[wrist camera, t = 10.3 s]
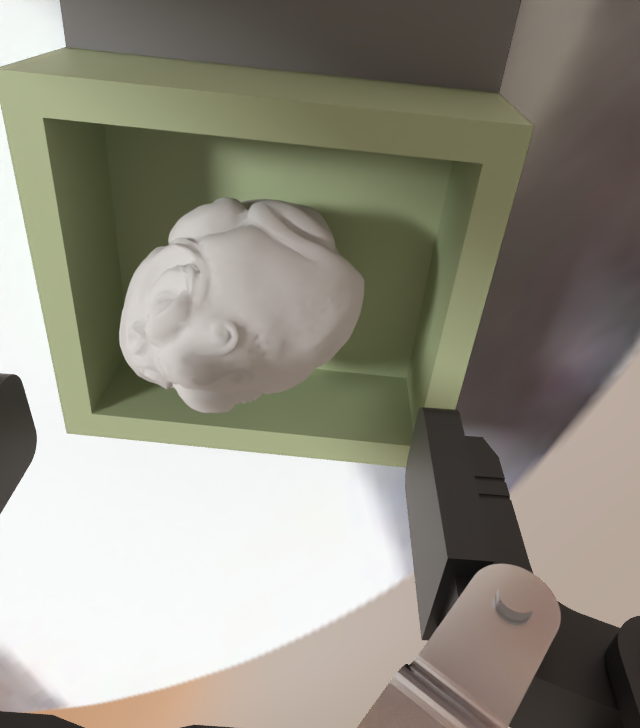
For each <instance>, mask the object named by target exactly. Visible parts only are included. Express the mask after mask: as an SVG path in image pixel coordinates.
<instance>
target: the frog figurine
mask: <svg viewBox="0 0 640 728" xmlns="http://www.w3.org/2000/svg"><path fill="white" fill-rule="evenodd" d="M168 242H169V245H168V246H163V247H156V248H155V249H154V250H153V251H152V252H151V253H150V254H149V255H148V256H147V258H145V259H144V260H143V261H142V263H141V264H140V265H139V267H138V268H137V269H136V271H135V272H134V275H133V277H132V279H131V282H130V284H129V288H128V291H127V294H126V298H125V303H124V307H123V311H122V316H121V323H120V330H119V342H120V347H121V350H122V353H123V356H124V358H125V360H126V362H127V363H128V364H129V366H130V367H131V368H132V369H133V370H134V372H135V373H136V374H137V375H138V376H140V377H141V378H143V379H145V380H147V381H149V382H152V383H155V384H158V385H160V386H161V387H163V388H165V389H166V390H168V389H169V388H175V389H176V391H177V393H178V394H179V396H180V398H181V399H182V400H183V401H184V402H185V403H186V404H187V405H188V406H189V407H190V408H191V409H193V410H195V411H198V412H202V413H225V412H229V411H230V410H231V409H232V408H233V407H234V406H235V404H236V403H238V404H239V403H241V402H242V403H243V404H245V403H246V402H252V400H253V399H255V400H256V399H257V398H259V397H260V396H261V395H262V394H271V393H279V392H282V391H286V390H288V389H290V388H293V387H295V386H296V385H298V384H300V383H301V382H302V381H304V380H306V379H307V378H308V376H309V375H310V374H311V373H313V371H314V370H315V369H316V368H317V367H320V366H322V365H324V364H326V363H327V362H328V361H329V360H330V359H331V358H333V356H334V355H335V354H336V353H337V352H338V351H339V350H340V348H341V347H342V346H343V345H344V344H345V343H346V342H347V341H348V340H349V338H350V336H351V334H352V332H353V330H354V327H355V325H356V323H357V321H358V318H359V316H360V313H361V308H362V303H363V298H364V279H363V277H362V275H361V274H360V273H359V272H358V271H357V270H356V269H355V268H354V267H353V265H352V264H351V263H350V262H349V261H348V260H346V259H345V258H343V257H342V256H341V255H339V253H338V250H337V248H336V246H335V240H334V237H333V234H332V232H331V230H330V228H329V227H328V225H327V223H326V222H325V220H324V219H323V217H322V216H321V214H320V213H319V212H317V211H316V210H315V209H313V208H311V207H309V206H304V205H299V204H294V203H290V202H286V201H282V200H270V199H253V200H247V201H242V202H240V201H238V200H237V199H234V198H229V197H227V198H220V199H217V200H215V201H214V202H213V203H210V204H204V205H201V206H199V207H197V208H195V209H194V210H192V211H190V212H189V213H187V214H185V215H184V216H183V217H181V218H180V219H179V220H178V221H177V223H176V224H175V226H174V227H173V228H172V230H171V232H170V234H169V239H168Z"/></svg>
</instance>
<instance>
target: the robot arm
mask: <svg viewBox="0 0 640 728" xmlns="http://www.w3.org/2000/svg"><path fill="white" fill-rule="evenodd" d="M36 443H37V435H36V429H35V426H34V422H33V419H32V415H31V412H30V408H29V405H28V401H27V398H26V394H25V391H24V387H23V384H22V381H21V379H20V378H19V377H18V376H17V375H14V374H1V373H0V514H1V512H2V510H3V509H4V507H5V505H6V504H7V502H8V500H9V499H10V497H11V495H12V494H13V492H14V490H15V489H16V487H17V485H18V484H19V482H20V480H21V478H22V477H23V475H24V473H25V472H26V470H27V468H28V467H29V465H30V463H31V462H32V459H33V457H34V454H35V450H36ZM504 479H505V478H504V474H503V471H502V467H501V464H500V461H499V457H498V456H497V454H496V453H495V452H494V451H493V450H492V448H491V447H490V446H489V445H488V443H487V442H486V441H485V440H484V439H483V437H472V436H465V435H464V431H463V427H462V423H461V418H460V415H459V412H458V410H454V409H441V408H428V407H420V408H419V410H418V414H417V418H416V422H415V427H414V431H413V436H412V441H411V445H410V450H409V454H408V459H407V465H406V475H405V490H406V500H407V509H408V518H409V528H410V537H411V546H412V555H413V565H414V574H415V583H416V592H417V601H418V611H419V619H420V629H421V638H422V640H428V642H427V643H426V645H425V646H424V648H423V649H422V650H421V652H420V653H419V655H418V656H417V657H416V659H415V660H414V661H413V662H412V663H411V664H410V665H408V664H405V665H404V666H403V667H402V668H401V669H400V670H399V671H398V672H397V673H396V675H395V676H394V677H393V678H392V680H391V681H390V683H389V684H388V686H387V687H386V688H385V690H384V691H383V692H382V694H381V695H380V696H379V698H378V699H377V700H376V702H375V703H374V705H373V706H372V707H371V709H370V710H369V712H368V713H367V714H366V716H365V717H364V718H363V720H362V721H361V723H360V724H359V725H358V727H357V728H508V726H509V727H511V728H640V616H636V617H633V618H631V619H629V620H628V621H626V622H625V623H624V624H623V625H622V627H621V628H618V627H616V626H613V625H610V624H607V623H604V622H602V621H599V620H597V619H594V618H591V617H588V616H586V615H583V614H580V613H578V612H576V611H573V610H571V609H569V608H567V607H566V606H564V605H562V604H561V603H560V602H558V601H557V600H556V597H555V596H554V594H553V593H552V591H551V589H550V588H549V587H548V586H547V585H546V584H545V583H544V582H543V581H542V580H541V579H540V578H539V577H537V576H536V575H534V574H533V571H532V569H531V566H530V563H529V559H528V556H527V553H526V549H525V546H524V542H523V539H522V536H521V532H520V529H519V525H518V522H517V519H516V515H515V512H514V509H513V505H512V502H511V500H510V495H509V491H508V488H507V484H506V482H504ZM0 728H84V727H81V726H79V725H77V724H74V723H71V722H69V721H66V720H64V719H61V718H59V717H56V716H54V715H45V714H31V713H16V712H2V711H0ZM182 728H231V727H217V726H203V725H192V726H187V727H182Z"/></svg>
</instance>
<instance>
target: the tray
mask: <svg viewBox="0 0 640 728" xmlns="http://www.w3.org/2000/svg"><path fill="white" fill-rule="evenodd" d="M520 3H521V0H60V5H61V12H62V20H63V27H64V35H65V42H66V47H65V48H61V49H58V50H55V51H51V52H48V53H45V54H41V55H38V56H35V57H31V58H28V59H25V60H21V61H18V62H15V63H11V64H8V65H5V66H1V67H0V104H1V109H2V114H3V119H4V124H5V129H6V134H7V139H8V144H9V149H10V154H11V159H12V164H13V169H14V173H15V178H16V183H17V188H18V193H19V198H20V203H21V208H22V213H23V218H24V223H25V228H26V233H27V238H28V243H29V248H30V253H31V258H32V263H33V268H34V273H35V278H36V283H37V288H38V293H39V298H40V303H41V308H42V313H43V318H44V323H45V328H46V332H47V337H48V342H49V347H50V352H51V357H52V362H53V367H54V372H55V377H56V382H57V387H58V392H59V397H60V402H61V407H62V412H63V417H64V422H65V427H66V432H67V433H69V434H79V435H89V436H99V437H109V438H119V439H129V440H139V441H148V442H158V443H168V444H178V445H188V446H198V447H208V448H218V449H228V450H238V451H248V452H258V453H268V454H278V455H288V456H298V457H307V458H317V459H327V460H337V461H347V462H357V463H367V464H377V465H387V466H397V467H406V465H407V459H408V454H409V450H410V445H411V441H412V436H413V431H414V427H415V422H416V418H417V414H418V410H419V408H420V407H428V408H441V409H454V410H455V409H456V405H457V402H458V398H459V394H460V391H461V387H462V384H463V380H464V377H465V373H466V369H467V366H468V362H469V359H470V355H471V351H472V348H473V344H474V341H475V337H476V333H477V330H478V326H479V323H480V319H481V316H482V312H483V308H484V305H485V301H486V298H487V294H488V290H489V287H490V283H491V280H492V276H493V273H494V269H495V265H496V262H497V258H498V255H499V251H500V247H501V244H502V240H503V237H504V233H505V230H506V226H507V222H508V219H509V215H510V212H511V208H512V204H513V201H514V197H515V194H516V190H517V187H518V183H519V179H520V176H521V172H522V169H523V165H524V161H525V158H526V154H527V151H528V147H529V144H530V140H531V136H532V133H533V129H534V125H533V124H532V123H531V122H530V121H528V120H527V119H526V118H525V117H524V116H523V115H522V114H521V113H520V112H519V111H518V110H517V109H516V108H514V107H513V106H512V105H511V104H510V103H509V102H508V101H507V100H506V99H505V98H504V97H503V96H502V95H501V94H499V90H500V86H501V82H502V78H503V74H504V69H505V65H506V61H507V57H508V53H509V48H510V44H511V40H512V36H513V32H514V28H515V23H516V19H517V15H518V11H519V7H520ZM227 197H229V198H234V199H237V200H238V201H240V202H242V201H247V200H253V199H270V200H282V201H286V202H290V203H294V204H299V205H304V206H309V207H311V208H313V209H315V210H316V211H317V212H319V213H320V214H321V216H322V217H323V219H324V220H325V222H326V223H327V225H328V227H329V228H330V230H331V232H332V234H333V237H334V240H335V246H336V248H337V250H338V253H339V255H341V256H342V257H343V258H345V259H346V260H348V261H349V262H350V263H351V264H352V265H353V267H354V268H355V269H356V270H357V271H358V272H359V273H360V274H361V275H362V277H363V279H364V298H363V303H362V308H361V313H360V316H359V318H358V321H357V323H356V325H355V327H354V330H353V332H352V334H351V336H350V338H349V340H348V341H347V342H346V343H345V344H344V345H343V346H342V347H341V348H340V350H339V351H338V352H337V353H336V354H335V355H334V356H333V358H331V359H330V360H329V361H328V362H327V363H326V364H324V365H322V366H320V367H317V368H316V369H315V370H314V371H313V373H311V374H310V375H309V376H308V378H307V379H306V380H304V381H302V382H301V383H300V384H298V385H296V386H295V387H293V388H290V389H288V390H286V391H282V392H279V393H271V394H262V395H261V396H260V397H259V398H257V399H256V400H255V399H253V400H252V402H246V403H245V404H243V403H242V402H241V403H239V404H238V403H236V404H235V406H234V407H233V408H232V409H231V410H230V411H229V412H225V413H202V412H198V411H195V410H193V409H191V408H190V407H189V406H188V405H187V404H186V403H185V402H184V401H183V400H182V399H181V398H180V396H179V394H178V393H177V391H176V389H175V388H169V389H168V390H166V389H165V388H163V387H161V386H160V385H158V384H155V383H152V382H149V381H147V380H145V379H143V378H141V377H140V376H138V375H137V374H136V373H135V372H134V370H133V369H132V368H131V367H130V366H129V364H128V363H127V362H126V360H125V358H124V356H123V353H122V350H121V347H120V342H119V330H120V323H121V316H122V311H123V307H124V303H125V298H126V294H127V291H128V288H129V284H130V282H131V279H132V277H133V275H134V272H135V271H136V269H137V268H138V267H139V265H140V264H141V263H142V261H143V260H144V259H145V258H147V256H148V255H149V254H150V253H151V252H152V251H153V250H154V249H155V248H156V247H163V246H168V245H169V242H168V239H169V234H170V232H171V230H172V228H173V227H174V226H175V224H176V223H177V221H178V220H179V219H180V218H181V217H183V216H184V215H185V214H187V213H189V212H190V211H192V210H194V209H195V208H197V207H199V206H201V205H204V204H210V203H213V202H214V201H215V200H217V199H220V198H227Z"/></svg>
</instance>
